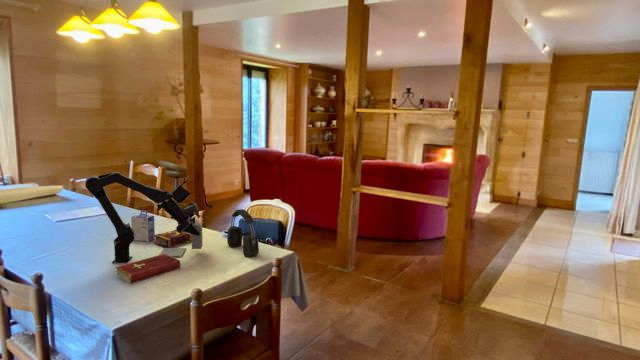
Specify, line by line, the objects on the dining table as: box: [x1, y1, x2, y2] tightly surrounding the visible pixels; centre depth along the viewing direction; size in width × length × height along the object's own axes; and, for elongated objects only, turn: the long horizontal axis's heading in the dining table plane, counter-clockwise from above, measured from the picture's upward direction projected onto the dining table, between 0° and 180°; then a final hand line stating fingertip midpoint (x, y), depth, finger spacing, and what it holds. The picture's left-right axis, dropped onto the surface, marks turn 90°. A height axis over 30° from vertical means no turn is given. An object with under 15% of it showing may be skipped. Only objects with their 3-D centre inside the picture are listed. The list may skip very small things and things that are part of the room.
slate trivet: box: [158, 247, 187, 258], centre depth 179 cm, size 10×10×1 cm
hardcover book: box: [114, 254, 182, 285], centre depth 158 cm, size 12×21×4 cm, turn 141°
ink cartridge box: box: [130, 210, 156, 242], centre depth 196 cm, size 10×6×14 cm, turn 78°
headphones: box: [226, 208, 260, 258], centre depth 184 cm, size 22×6×20 cm, turn 40°
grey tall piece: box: [191, 218, 203, 250], centre depth 179 cm, size 4×4×13 cm
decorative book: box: [153, 229, 192, 248], centre depth 193 cm, size 11×16×5 cm
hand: (200, 233), depth 179 cm, fingers closed on grey tall piece, 4 cm apart
